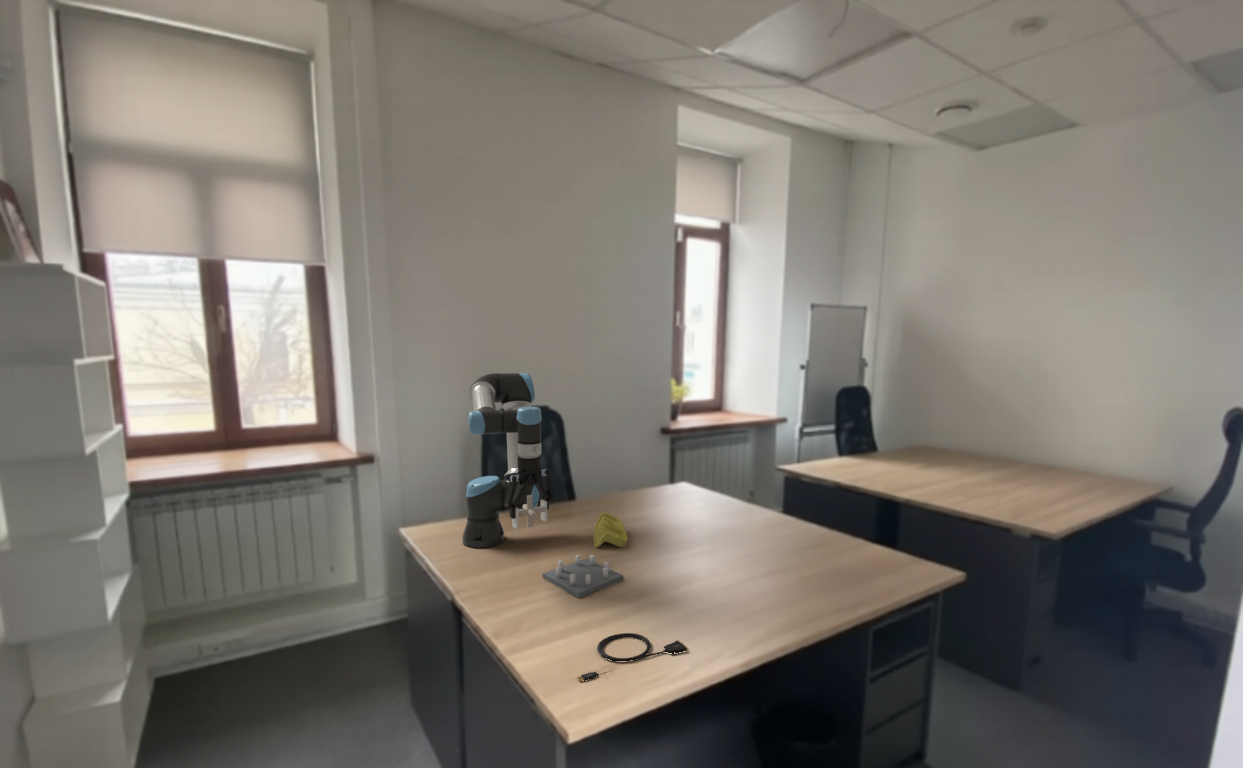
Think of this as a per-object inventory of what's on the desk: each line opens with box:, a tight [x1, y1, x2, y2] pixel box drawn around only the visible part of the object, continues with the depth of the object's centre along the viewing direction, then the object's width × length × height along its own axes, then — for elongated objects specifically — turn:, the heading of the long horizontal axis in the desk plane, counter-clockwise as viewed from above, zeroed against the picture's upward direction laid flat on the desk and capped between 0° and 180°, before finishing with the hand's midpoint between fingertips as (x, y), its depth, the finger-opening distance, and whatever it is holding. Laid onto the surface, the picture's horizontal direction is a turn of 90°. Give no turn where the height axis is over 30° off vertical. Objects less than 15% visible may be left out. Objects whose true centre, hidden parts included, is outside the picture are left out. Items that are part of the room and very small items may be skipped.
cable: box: [576, 632, 688, 682], centre depth 130 cm, size 14×28×2 cm, turn 116°
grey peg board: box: [542, 554, 624, 599], centre depth 169 cm, size 18×18×4 cm
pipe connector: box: [519, 495, 546, 528], centre depth 173 cm, size 10×10×10 cm
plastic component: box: [592, 512, 629, 549], centre depth 204 cm, size 20×7×10 cm
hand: (529, 523), depth 174 cm, fingers closed on pipe connector, 10 cm apart
